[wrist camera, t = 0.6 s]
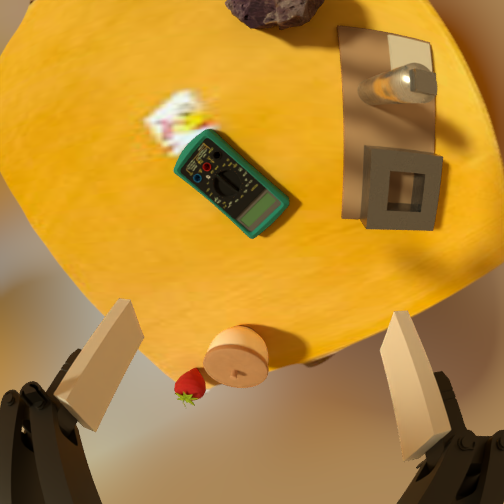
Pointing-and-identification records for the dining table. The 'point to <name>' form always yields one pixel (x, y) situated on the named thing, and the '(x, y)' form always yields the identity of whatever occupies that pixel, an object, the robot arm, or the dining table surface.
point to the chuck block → (377, 187)
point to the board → (376, 117)
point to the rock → (273, 12)
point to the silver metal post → (400, 86)
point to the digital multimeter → (230, 183)
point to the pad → (408, 52)
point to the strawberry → (190, 386)
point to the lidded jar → (237, 358)
